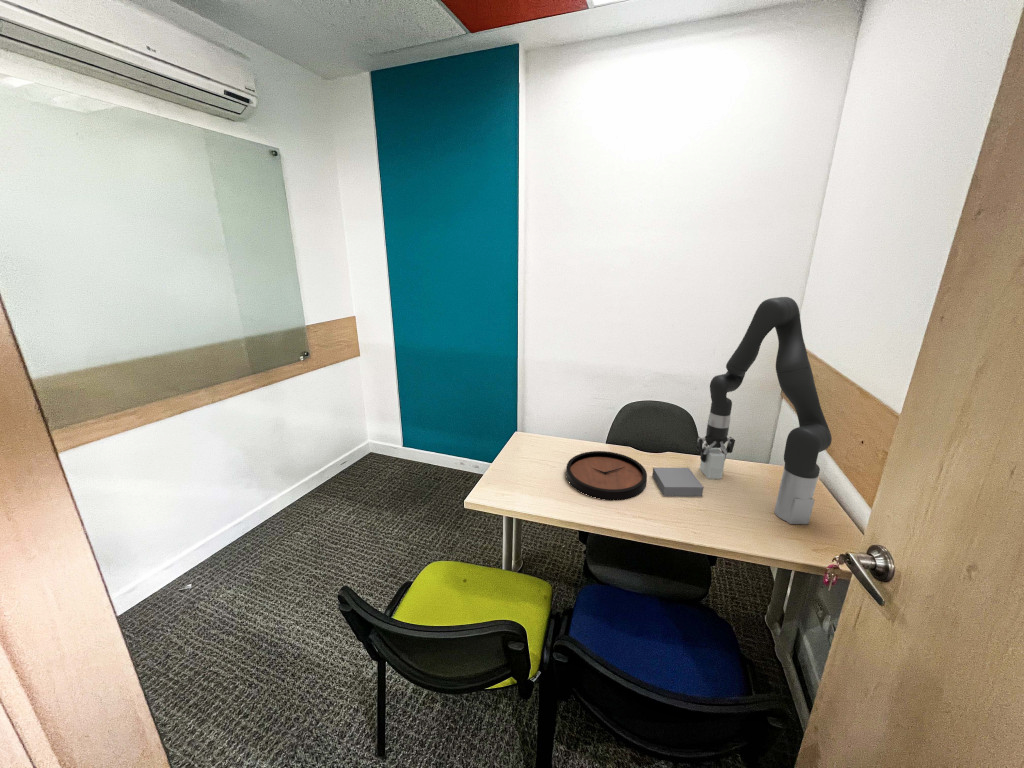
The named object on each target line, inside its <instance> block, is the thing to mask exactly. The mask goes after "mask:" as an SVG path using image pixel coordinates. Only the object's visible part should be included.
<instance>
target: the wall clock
mask: <svg viewBox="0 0 1024 768" xmlns="http://www.w3.org/2000/svg"><path fill="white" fill-rule="evenodd" d="M565 471H566V473H565V477H566V476H567V478H566V480H567V479H568V481H569V482H570V484H571V485H572V486H573V487H574V488H576V489H577V490H579V491H580V492H582V493H584V494H587V495H589V496H588V497H590V496H592V497H591V498H593V497H596V498H595V499H597V498H600V499H599V500H602V499H605V500H604V501H613V500H615V501H624V500H625V499H626V500H631V499H632V498H633V499H634V498H635V497H638V496H639V495H641V494H642V493H643V492H644V491H645V490H646V487H647V480H648V479H647V478H648V474H647V470H646V469H645V467H644V466H643V465H642V464H641V463H640V462H638V460H636V459H634V458H632V457H630V456H628V455H624V454H621V453H617V452H613V451H603V450H602V451H601V450H596V451H595V450H593V451H592V450H591V451H586V452H581V453H579V454H577V455H574V456H573V457H571V458H570V459H569V460H568V461H567V463H566V470H565ZM568 481H567V482H568ZM569 482H568V483H569ZM570 484H569V485H570ZM571 485H570V486H571ZM572 486H571V487H572ZM573 487H572V488H573ZM574 488H573V489H574ZM577 490H576V491H577ZM579 491H578V492H579ZM580 492H579V493H580ZM582 493H581V494H582ZM584 494H583V495H584ZM587 495H586V496H587Z"/></svg>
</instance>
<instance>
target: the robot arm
mask: <svg viewBox="0 0 1024 768" xmlns="http://www.w3.org/2000/svg"><path fill="white" fill-rule="evenodd" d="M801 320H802V319H801V312H800V309H799V305H798V303H797V302H796V301H795V300H794V299H793V298H792V297H789V296H780V297H778V296H777V297H772V298H771V297H770V298H768V299H764V300H763V301H762V302H761V303H760V304H758V307H757V309H756V310H755V312H754V314H753V316H752V319H751V321H750V324H749V325H748V326H747V327H748V328H747V330H746V332H745V334H744V336H743V338H742V339H741V342H740V343H739V344H738V346H737V348H736V350H735V351H733V353H732V355H731V356H730V357H729V360H728V361H727V362H726V364H725V368H726V370H727V371H726V372H725V373H724V374H718V375H715V376H713V377H712V379H711V380H710V383H709V392H710V398H711V405H710V411H709V414H708V418H707V424H706V425H707V426H706V430H705V431H706V432H705V436H704V437H700V436H697V437H696V451H697V452H699V454H700V458H699V459H700V461H701V460H702V462H706V455H707V454H706V453H707V452H708V451H709V450H711V448H718V449H719V450H720V451H721V452H722V453H723V454H724V455H725V460H726V459H727V455H728V454H733V450H734V446H735V443H736V440H735V439H734V438H733V437H732V436H729V430H730V424H731V413H732V407H733V402H732V400H731V398H730V397H728V396H727V395H728V394H727V393H731V392H735V391H736V390H737V389H738V388H740V387H741V385H742V383H743V382H744V381H743V380H744V378H745V376H746V374H747V372H748V370H749V369H750V368H751V366H752V365H753V364H754V362H755V361H756V360H757V357H758V355H759V351H760V348H761V346H762V345H761V344H762V343H763V341H764V339H765V338H766V337H767V335H769V333H770V332H771V331H772V330H773V329H774V328H775V331H776V335H777V340H778V342H777V343H778V347H777V354H776V359H775V373H776V375H777V376H776V377H777V380H778V384H779V387H780V389H781V391H782V392H783V394H784V395H785V397H786V398H787V399H788V401H789V402H790V403H791V405H792V406H793V408H794V410H795V413H796V416H797V420H798V427H795V428H793V429H791V431H790V432H789V433H788V435H787V438H786V441H785V446H784V453H783V461H784V467H783V471H782V476H781V478H780V484H779V489H778V493H777V497H776V502H775V507H774V511H773V512H774V514H775V515H776V516H777V517H778V518H779V519H781V520H783V521H785V522H787V523H788V524H790V525H809V523H810V519H811V516H812V512H813V507H814V504H815V499H814V495H815V490H816V487H817V483H818V480H819V479H818V478H819V475H820V472H821V469H820V466H819V465H818V463H817V461H818V457H819V453H821V452H824V451H826V450H827V449H829V448H830V446H831V445H832V440H833V439H832V433H831V431H830V428H829V425H828V423H827V420H826V418H825V415H824V412H823V410H822V406H821V403H820V400H819V399H820V398H819V395H818V391H817V388H816V383H815V379H814V375H813V370H812V367H811V364H810V359H809V356H808V352H807V347H806V343H805V339H804V337H803V331H802V329H803V328H802V321H801ZM728 436H729V437H728ZM704 442H705V443H704ZM726 443H727V444H726ZM725 444H726V446H725Z"/></svg>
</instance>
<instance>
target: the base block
mask: <svg viewBox="0 0 1024 768" xmlns="http://www.w3.org/2000/svg"><path fill="white" fill-rule="evenodd" d="M652 478H653V480H654V482H655V484H656V485H657V487H658V489H659V490H660V492H661V494H662V496H663V497H675V498H677V497H681V498H682V497H683V498H684V497H691V498H692V497H693V498H694V497H695V498H696V497H697V498H698V497H699V498H702V497H703V493H704V486H703V484H702V483H701V482H700V481H699V479H698V478H697V477H696V475H695V473H693V471H692V470H691V469H690V467H652Z"/></svg>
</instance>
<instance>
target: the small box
mask: <svg viewBox="0 0 1024 768" xmlns="http://www.w3.org/2000/svg"><path fill="white" fill-rule="evenodd" d="M706 454H707V455H706V462H702V460H701V459H700V464H699V465H700V466H699V470H700V471H701V472H702V473H703V475H704V476H705V477H706V478H707V480H718V479H719V480H720V479H723V473H724V467H725V462H726V459H725V455H724V454H723V453H722V451H721V449H720V448H711V450H709V451H708V452H707V453H706Z"/></svg>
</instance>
